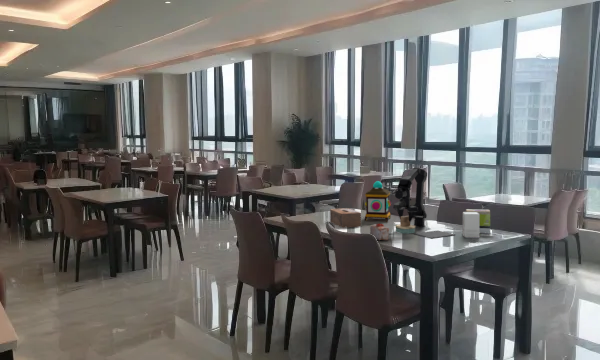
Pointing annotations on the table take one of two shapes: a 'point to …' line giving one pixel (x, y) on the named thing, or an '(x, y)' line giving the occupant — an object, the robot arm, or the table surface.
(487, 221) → the tea box
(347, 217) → the tissue box cover
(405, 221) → the lid
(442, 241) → the table surface
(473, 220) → the supplement box
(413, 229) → the bowl
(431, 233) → the mat
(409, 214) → the robot arm
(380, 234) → the food item
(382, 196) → the decorative lantern
